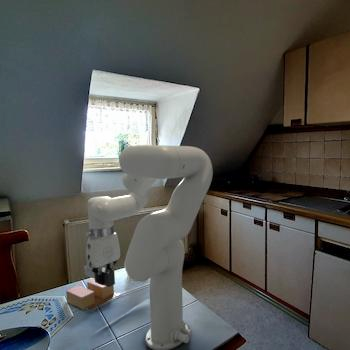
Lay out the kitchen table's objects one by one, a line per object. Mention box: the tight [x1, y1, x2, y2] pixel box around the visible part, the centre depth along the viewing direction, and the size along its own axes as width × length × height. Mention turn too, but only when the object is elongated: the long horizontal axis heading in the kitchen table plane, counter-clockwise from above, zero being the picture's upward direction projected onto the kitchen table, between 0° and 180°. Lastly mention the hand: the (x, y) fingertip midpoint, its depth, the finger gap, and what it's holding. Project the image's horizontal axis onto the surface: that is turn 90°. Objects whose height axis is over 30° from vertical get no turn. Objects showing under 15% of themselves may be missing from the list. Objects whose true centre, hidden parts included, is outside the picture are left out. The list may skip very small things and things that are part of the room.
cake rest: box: [86, 278, 115, 299], centre depth 103 cm, size 10×4×4 cm, turn 63°
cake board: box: [85, 291, 121, 311], centre depth 101 cm, size 14×12×1 cm
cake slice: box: [65, 285, 95, 310], centre depth 97 cm, size 10×4×4 cm, turn 62°
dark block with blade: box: [83, 265, 116, 287], centre depth 95 cm, size 16×2×5 cm, turn 63°
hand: (104, 281), depth 93 cm, fingers closed on dark block with blade, 2 cm apart
